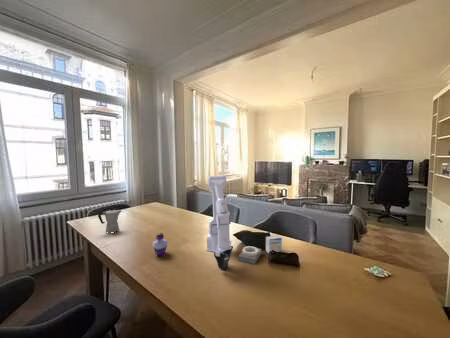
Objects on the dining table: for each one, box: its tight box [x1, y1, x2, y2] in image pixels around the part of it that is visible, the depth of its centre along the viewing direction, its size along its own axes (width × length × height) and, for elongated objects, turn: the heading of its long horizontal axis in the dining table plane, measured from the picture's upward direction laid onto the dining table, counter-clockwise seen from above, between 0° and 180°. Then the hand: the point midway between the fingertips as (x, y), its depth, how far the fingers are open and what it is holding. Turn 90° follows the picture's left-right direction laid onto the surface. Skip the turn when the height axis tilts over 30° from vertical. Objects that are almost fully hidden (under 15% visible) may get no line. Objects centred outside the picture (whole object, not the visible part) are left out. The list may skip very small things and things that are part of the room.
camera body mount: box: [237, 245, 262, 265], centre depth 114 cm, size 9×13×4 cm
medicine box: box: [265, 235, 283, 254], centre depth 120 cm, size 8×4×9 cm, turn 105°
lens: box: [219, 252, 229, 271], centre depth 103 cm, size 4×4×7 cm
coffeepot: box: [97, 207, 122, 233], centre depth 154 cm, size 15×9×18 cm, turn 129°
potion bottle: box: [151, 232, 169, 257], centre depth 118 cm, size 9×9×12 cm
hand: (223, 264), depth 103 cm, fingers open, 7 cm apart
